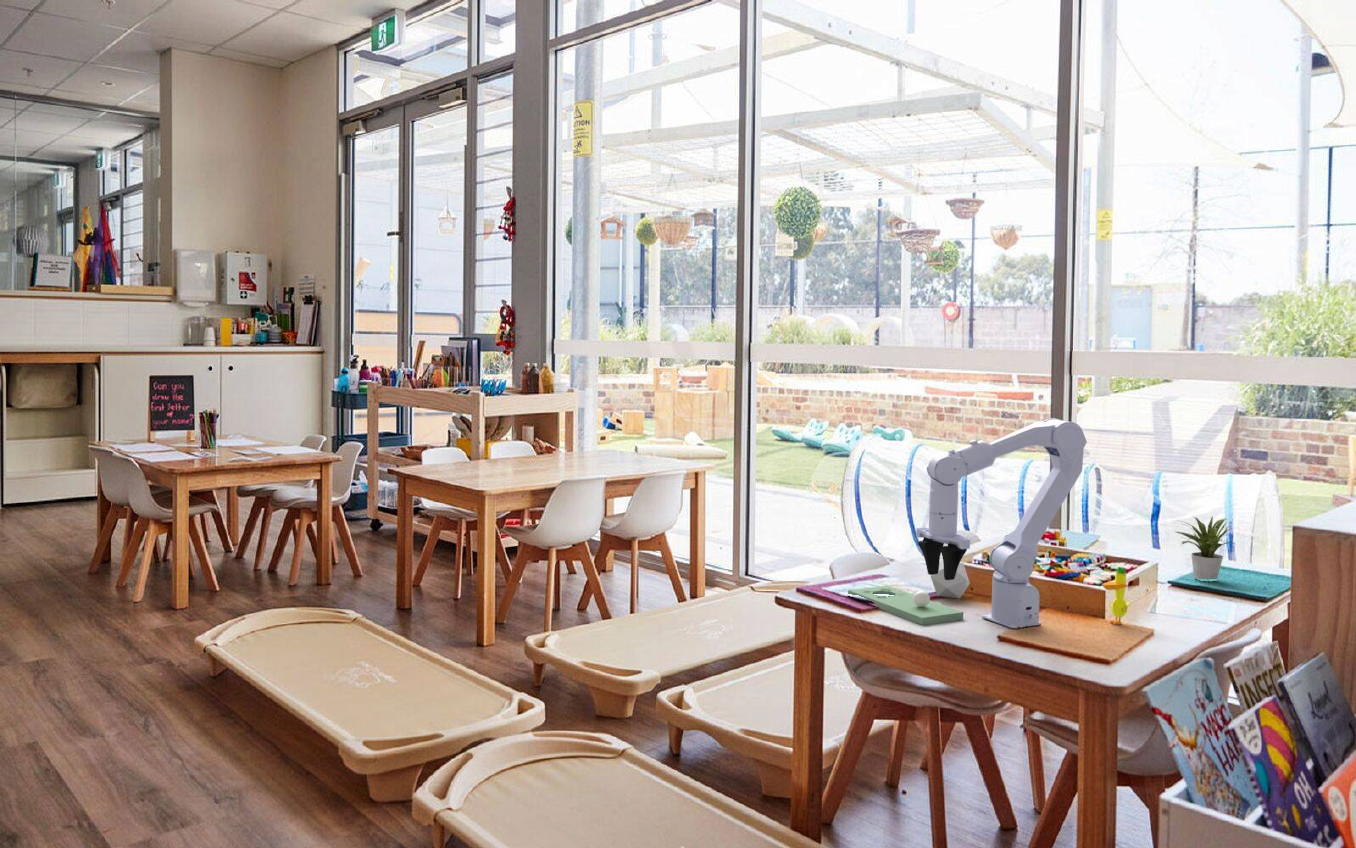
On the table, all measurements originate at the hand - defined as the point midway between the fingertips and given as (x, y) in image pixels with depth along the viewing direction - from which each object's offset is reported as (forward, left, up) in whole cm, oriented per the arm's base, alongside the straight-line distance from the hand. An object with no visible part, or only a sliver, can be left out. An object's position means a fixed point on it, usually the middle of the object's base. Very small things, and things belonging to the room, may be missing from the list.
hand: (941, 576), depth 226 cm
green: (+12, 0, -9) cm, 15 cm away
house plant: (+3, -87, -10) cm, 88 cm away
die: (+16, -17, -10) cm, 25 cm away
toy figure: (-17, -33, -10) cm, 38 cm away
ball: (+6, 0, -6) cm, 9 cm away
